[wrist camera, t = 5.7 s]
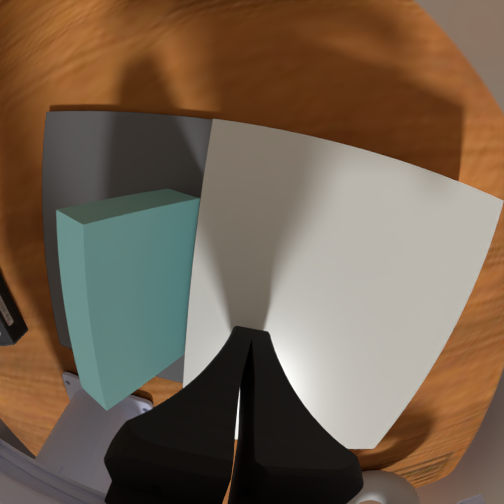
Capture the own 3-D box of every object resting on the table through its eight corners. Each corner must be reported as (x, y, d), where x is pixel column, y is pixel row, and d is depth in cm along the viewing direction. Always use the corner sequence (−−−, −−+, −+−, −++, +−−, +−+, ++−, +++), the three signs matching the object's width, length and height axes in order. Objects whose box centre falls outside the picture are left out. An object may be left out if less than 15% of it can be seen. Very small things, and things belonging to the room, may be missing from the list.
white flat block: (363, 405, 19) (373, 448, 16) (194, 382, 19) (181, 428, 16) (458, 182, 13) (503, 200, 10) (229, 122, 13) (213, 118, 10)
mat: (187, 380, 19) (186, 384, 19) (62, 342, 19) (60, 344, 19) (218, 120, 13) (217, 120, 13) (49, 111, 13) (46, 111, 13)
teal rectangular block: (106, 410, 12) (81, 387, 13) (184, 354, 17) (158, 338, 18) (83, 224, 9) (56, 209, 9) (200, 198, 14) (167, 188, 14)
